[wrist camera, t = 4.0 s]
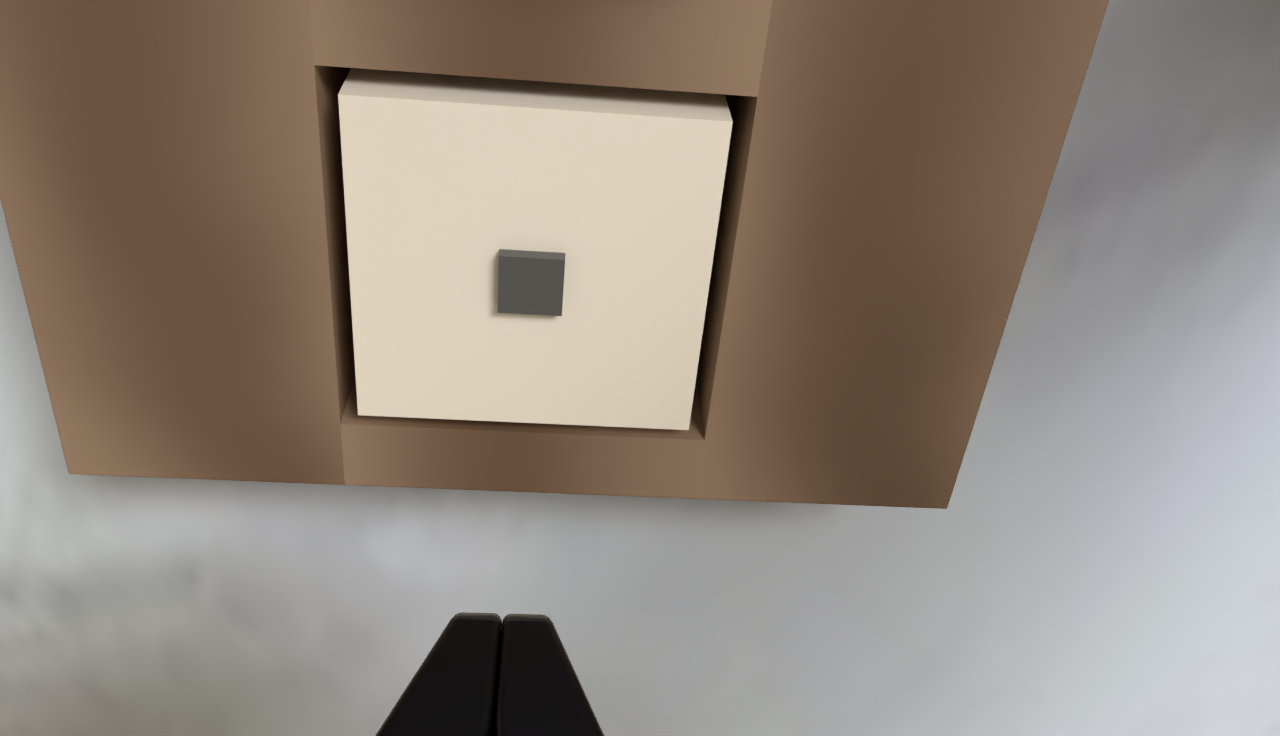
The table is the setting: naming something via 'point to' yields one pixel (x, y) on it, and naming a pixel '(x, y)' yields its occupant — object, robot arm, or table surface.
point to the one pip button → (529, 246)
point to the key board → (550, 52)
